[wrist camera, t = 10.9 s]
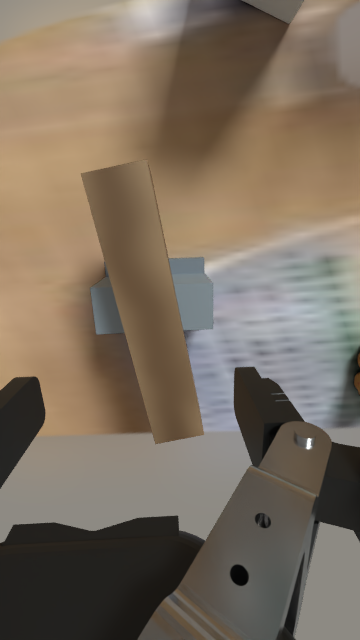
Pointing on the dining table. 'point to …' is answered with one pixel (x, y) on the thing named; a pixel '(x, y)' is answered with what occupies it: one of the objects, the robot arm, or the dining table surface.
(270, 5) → the soap bottle
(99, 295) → the fulcrum ridge
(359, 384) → the ornament
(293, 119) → the dining table surface
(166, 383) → the walnut bar
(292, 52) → the dining table surface
